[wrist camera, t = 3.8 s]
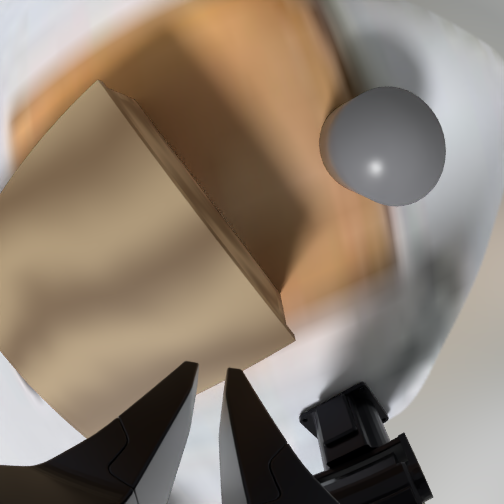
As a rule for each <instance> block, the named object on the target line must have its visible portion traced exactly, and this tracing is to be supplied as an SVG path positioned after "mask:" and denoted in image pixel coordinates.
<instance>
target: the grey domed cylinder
mask: <svg viewBox="0 0 504 504" xmlns="http://www.w3.org/2000/svg"><path fill="white" fill-rule="evenodd" d="M319 147H320V154H321V158H322V161H323V164H324V166H325V168H326V169H327V171H328V172H329V174H330V175H331V176H332V177H333V179H334V180H335V181H337V182H338V183H339V184H340V185H342V186H343V187H345V188H347V189H349V190H351V191H354V192H356V193H358V194H360V195H362V196H364V197H367V198H369V199H371V200H373V201H375V202H377V203H380V204H383V205H388V206H404V205H409V204H412V203H414V202H417V201H418V200H420V199H422V198H423V197H425V196H426V195H427V194H428V193H429V192H430V191H431V190H432V189H433V188H434V186H435V185H436V184H437V182H438V180H439V178H440V176H441V174H442V171H443V167H444V163H445V155H446V147H445V139H444V134H443V131H442V128H441V125H440V123H439V121H438V119H437V117H436V116H435V114H434V113H433V111H432V110H431V108H430V107H429V106H428V105H427V104H426V103H425V102H424V101H423V100H421V99H420V98H419V97H418V96H416V95H414V94H413V93H411V92H409V91H407V90H404V89H401V88H396V87H378V88H374V89H371V90H369V91H366V92H364V93H362V94H361V95H359V96H357V97H355V98H353V99H352V100H350V101H348V102H346V103H344V104H343V105H341V106H339V107H338V108H336V109H335V110H334V111H333V112H332V113H331V114H330V115H329V116H328V117H327V119H326V120H325V122H324V124H323V127H322V129H321V133H320V139H319Z"/></svg>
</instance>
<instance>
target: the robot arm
mask: <svg viewBox="0 0 504 504" xmlns="http://www.w3.org/2000/svg"><path fill="white" fill-rule="evenodd" d="M198 372H199V364H198V363H197V362H191V361H184V362H183V363H182V364H181V365H180V366H178V367H177V368H176V369H175V370H174V371H173V372H171V373H170V374H169V375H168V376H167V377H165V378H164V379H163V380H162V381H161V382H159V383H158V384H157V385H156V386H155V387H153V388H152V389H151V390H150V391H149V392H147V393H146V394H145V395H144V396H143V397H141V398H140V399H139V400H138V401H136V402H135V403H134V404H133V405H132V406H130V407H129V408H128V409H127V410H125V411H124V412H123V413H122V414H120V415H119V416H118V418H115V419H114V420H113V421H112V422H110V423H109V424H108V425H106V426H105V427H104V428H102V429H101V430H100V431H98V432H97V433H95V434H94V435H92V436H91V437H89V438H87V439H86V440H84V441H83V442H81V443H79V444H77V445H76V446H74V447H72V448H70V449H69V450H67V451H65V452H63V453H61V454H60V455H58V456H56V457H54V458H52V459H50V460H48V461H46V462H44V463H41V464H38V465H34V466H9V465H0V504H167V502H168V499H169V496H170V492H171V489H172V486H173V483H174V480H175V477H176V473H177V470H178V467H179V464H180V461H181V457H182V454H183V451H184V448H185V445H186V442H187V438H188V435H189V431H190V427H191V421H192V415H193V409H194V403H195V397H196V391H197V384H198ZM362 387H363V388H362ZM360 388H362V389H360ZM305 418H306V419H305ZM388 419H389V418H388V415H387V414H386V412H385V411H384V409H383V408H382V406H381V405H380V403H379V402H378V400H377V399H376V398H375V396H374V395H373V393H372V392H371V390H370V389H369V387H368V386H367V385H366V383H364V382H361V383H358V384H357V385H355V386H353V387H352V388H350V389H348V390H346V391H345V392H343V393H341V394H339V395H338V396H336V397H334V398H332V399H330V400H328V401H327V402H325V403H323V404H321V405H319V406H317V407H315V408H313V409H311V410H309V411H307V412H305V413H303V414H302V415H300V417H299V420H300V423H301V424H302V425H303V426H304V427H305V428H307V429H308V430H309V431H310V432H311V433H312V434H313V435H314V436H315V437H316V438H317V439H318V442H319V447H320V452H321V457H322V462H323V466H324V471H323V472H320V473H318V474H315V475H312V474H311V473H310V472H309V471H308V470H307V468H306V467H305V466H304V465H303V464H302V462H301V461H300V460H299V458H298V457H297V455H296V454H295V453H294V451H293V450H292V448H291V447H290V445H289V444H287V441H286V439H285V438H284V436H283V435H282V433H281V432H280V430H279V429H278V427H277V426H276V424H275V423H274V421H273V419H272V418H271V416H270V415H269V413H268V412H267V410H266V408H265V407H264V405H263V404H262V402H261V400H260V399H259V397H258V396H257V394H256V392H255V391H254V389H253V388H252V386H251V384H250V383H249V381H248V379H247V378H246V376H245V374H244V373H243V371H242V370H241V369H238V368H230V367H229V368H228V369H227V372H226V379H225V386H224V393H223V402H222V410H221V419H220V428H219V456H220V477H221V496H222V504H425V501H427V500H429V499H431V498H433V495H432V493H431V490H430V488H429V486H428V483H427V481H426V479H425V476H424V474H423V472H422V470H421V467H420V465H419V463H418V461H417V459H416V456H415V454H414V452H413V450H412V448H411V446H410V444H409V442H408V439H407V437H406V435H405V433H402V434H400V435H398V437H397V438H395V439H393V440H391V441H390V439H389V437H388V435H387V432H386V430H385V427H384V425H383V423H385V422H386V421H387V420H388Z"/></svg>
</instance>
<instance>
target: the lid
mask: <svg viewBox="0 0 504 504" xmlns="http://www.w3.org/2000/svg"><path fill="white" fill-rule="evenodd" d="M294 341H296V340H295V336H294V334H293V333H292V331H291V330H290V329H289V327H288V326H287V325H286V324H285V322H284V321H283V320H282V319H281V317H280V316H279V315H278V313H277V312H276V311H275V310H274V308H273V307H272V306H271V305H270V303H269V302H268V301H267V299H266V298H265V297H264V296H263V294H262V293H261V292H260V290H259V289H258V288H257V287H256V285H255V284H254V283H253V281H252V280H251V279H250V278H249V276H248V275H247V274H246V272H245V271H244V270H243V269H242V267H241V266H240V265H239V263H238V262H237V261H236V259H235V258H234V257H233V256H232V254H231V253H230V252H229V250H228V249H227V248H226V246H225V245H224V244H223V243H222V241H221V240H220V239H219V237H218V236H217V235H216V233H215V232H214V231H213V229H212V228H211V227H210V226H209V224H208V223H207V222H206V220H205V219H204V218H203V216H202V215H201V214H200V212H199V211H198V210H197V208H196V207H195V206H194V204H193V203H192V202H191V200H190V199H189V198H188V197H187V195H186V194H185V193H184V191H183V190H182V189H181V187H180V186H179V185H178V183H177V182H176V181H175V179H174V178H173V177H172V175H171V174H170V173H169V171H168V170H167V169H166V167H165V166H164V164H163V163H162V162H161V160H160V159H159V158H158V156H157V155H156V154H155V152H154V151H153V150H152V148H151V147H150V146H149V144H148V143H147V142H146V140H145V139H144V138H143V136H142V135H141V133H140V132H139V131H138V129H137V128H136V127H135V125H134V124H133V123H132V121H131V120H130V118H129V117H128V116H127V114H126V113H125V112H124V110H123V109H122V108H121V106H120V105H119V103H118V102H117V101H116V99H115V98H114V97H113V95H112V94H111V92H110V91H109V90H108V88H107V87H106V85H105V84H104V83H103V82H102V81H100V80H97V81H96V82H95V83H94V84H93V85H91V86H90V87H89V88H88V89H87V90H86V91H85V92H84V93H83V94H82V95H81V96H80V97H79V98H78V99H77V100H76V101H75V102H74V103H73V104H72V105H71V106H70V107H69V108H68V110H67V111H66V112H65V113H64V114H63V115H62V116H61V117H60V118H59V119H58V120H57V121H56V123H55V124H54V125H53V126H52V127H51V128H50V129H49V131H48V132H47V133H46V134H45V135H44V136H43V138H42V139H41V140H40V141H39V142H38V144H37V145H36V146H35V147H34V148H33V150H32V151H31V152H30V154H29V155H28V156H27V157H26V159H25V160H24V161H23V163H22V164H21V165H20V167H19V168H18V169H17V171H16V172H15V173H14V175H13V176H12V178H11V179H10V180H9V182H8V183H7V185H6V186H5V188H4V189H3V191H2V192H1V194H0V351H1V353H2V354H3V355H4V356H5V357H6V359H7V360H8V361H9V362H10V363H11V365H12V366H13V367H14V368H15V369H16V370H17V372H18V373H19V374H20V375H21V376H22V377H23V378H24V379H25V380H26V382H27V383H28V384H29V385H30V386H31V387H32V388H33V389H34V390H35V391H36V392H37V393H38V394H39V395H40V396H41V397H42V398H43V399H44V400H45V401H46V402H47V403H48V404H49V405H50V406H51V407H52V408H53V409H54V410H55V411H56V412H57V413H58V414H59V415H60V416H61V417H63V418H64V419H65V420H66V421H67V422H68V423H69V424H70V425H71V426H73V427H74V428H75V429H76V430H77V431H78V432H80V433H81V434H82V435H83V436H84V437H85V438H89V437H91V436H92V435H94V434H95V433H97V432H98V431H100V430H101V429H102V428H104V427H105V426H106V425H108V424H109V423H110V422H112V421H113V420H114V419H115V418H118V416H119V415H120V414H122V413H123V412H124V411H125V410H127V409H128V408H129V407H130V406H132V405H133V404H134V403H135V402H136V401H138V400H139V399H140V398H141V397H143V396H144V395H145V394H146V393H147V392H149V391H150V390H151V389H152V388H153V387H155V386H156V385H157V384H158V383H159V382H161V381H162V380H163V379H164V378H165V377H167V376H168V375H169V374H170V373H171V372H173V371H174V370H175V369H176V368H177V367H178V366H180V365H181V364H182V363H183V362H184V361H191V362H197V363H198V364H199V372H198V384H197V391H196V395H197V394H199V393H201V392H203V391H205V390H207V389H209V388H211V387H213V386H215V385H217V384H219V383H221V382H222V381H224V380H225V379H226V372H227V369H228V368H229V367H230V368H238V369H241V370H242V371H243V370H245V369H247V368H249V367H251V366H252V365H254V364H256V363H258V362H260V361H261V360H263V359H265V358H267V357H268V356H270V355H272V354H274V353H275V352H277V351H279V350H281V349H282V348H284V347H286V346H287V345H289V344H291V343H293V342H294Z"/></svg>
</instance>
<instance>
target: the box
mask: <svg viewBox="0 0 504 504" xmlns="http://www.w3.org/2000/svg"><path fill="white" fill-rule="evenodd" d="M108 90H109V91H110V92H111V94H112V95H113V97H114V98H115V99H116V101H117V102H118V103H119V105H120V106H121V108H122V109H123V110H124V112H125V113H126V114H127V116H128V117H129V118H130V120H131V121H132V123H133V124H134V125H135V127H136V128H137V129H138V131H139V132H140V133H141V135H142V136H143V138H144V139H145V140H146V142H147V143H148V144H149V146H150V147H151V148H152V150H153V151H154V152H155V154H156V155H157V156H158V158H159V159H160V160H161V162H162V163H163V164H164V166H165V167H166V169H167V170H168V171H169V173H170V174H171V175H172V177H173V178H174V179H175V181H176V182H177V183H178V185H179V186H180V187H181V189H182V190H183V191H184V193H185V194H186V195H187V197H188V198H189V199H190V200H191V202H192V203H193V204H194V206H195V207H196V208H197V210H198V211H199V212H200V214H201V215H202V216H203V218H204V219H205V220H206V222H207V223H208V224H209V226H210V227H211V228H212V229H213V231H214V232H215V233H216V235H217V236H218V237H219V239H220V240H221V241H222V243H223V244H224V245H225V246H226V248H227V249H228V250H229V252H230V253H231V254H232V256H233V257H234V258H235V259H236V261H237V262H238V263H239V265H240V266H241V267H242V269H243V270H244V271H245V272H246V274H247V275H248V276H249V278H250V279H251V280H252V281H253V283H254V284H255V285H256V287H257V288H258V289H259V290H260V292H261V293H262V294H263V296H264V297H265V298H266V299H267V301H268V302H269V303H270V305H271V306H272V307H273V308H274V310H275V311H276V312H277V313H278V315H279V316H280V317H281V319H282V320H283V321H284V322H285V324H286V320H285V315H284V310H283V305H282V300H281V295H280V293H279V292H278V290H277V289H276V288H275V286H274V285H273V284H272V282H271V281H270V280H269V278H268V277H267V276H266V274H265V273H264V272H263V270H262V269H261V268H260V266H259V265H258V264H257V262H256V261H255V260H254V258H253V257H252V256H251V254H250V253H249V252H248V250H247V249H246V248H245V246H244V245H243V244H242V242H241V241H240V240H239V238H238V237H237V236H236V234H235V233H234V232H233V230H232V229H231V228H230V226H229V225H228V224H227V222H226V221H225V220H224V218H223V217H222V216H221V214H220V213H219V212H218V210H217V209H216V208H215V206H214V205H213V204H212V202H211V201H210V200H209V198H208V197H207V196H206V194H205V193H204V192H203V190H202V189H201V188H200V186H199V185H198V184H197V182H196V181H195V180H194V178H193V177H192V176H191V174H190V173H189V172H188V170H187V169H186V168H185V166H184V165H183V164H182V162H181V161H180V160H179V158H178V157H177V156H176V154H175V153H174V152H173V150H172V149H171V148H170V146H169V145H168V144H167V142H166V141H165V140H164V138H163V137H162V136H161V134H160V133H159V132H158V130H157V129H156V128H155V126H154V125H153V123H152V122H151V121H150V119H149V118H148V117H147V115H146V114H145V113H144V111H143V110H142V109H141V107H140V106H139V105H138V103H137V102H136V101H135V99H132V98H130V97H128V96H125V95H123V94H121V93H119V92H116V91H114V90H112V89H109V88H108Z"/></svg>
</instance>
